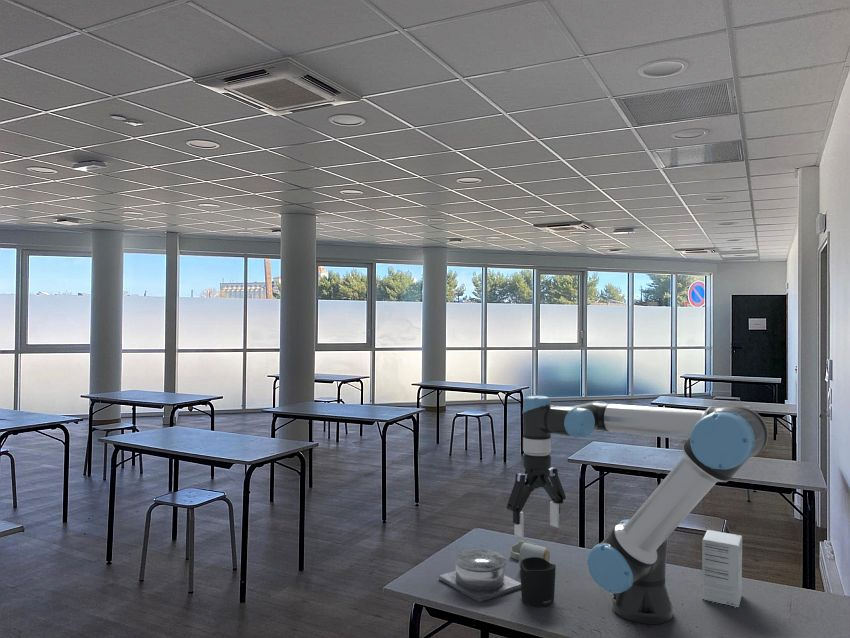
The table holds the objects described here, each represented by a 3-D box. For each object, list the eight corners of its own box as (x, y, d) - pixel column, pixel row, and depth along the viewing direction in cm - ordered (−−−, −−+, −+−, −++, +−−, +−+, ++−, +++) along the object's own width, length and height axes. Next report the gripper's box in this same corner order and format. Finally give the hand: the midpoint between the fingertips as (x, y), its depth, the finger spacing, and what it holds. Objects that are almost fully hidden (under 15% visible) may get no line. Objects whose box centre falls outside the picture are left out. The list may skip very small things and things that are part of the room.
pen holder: (519, 606, 166) (520, 569, 166) (520, 591, 175) (520, 555, 175) (555, 609, 164) (556, 571, 164) (554, 594, 173) (555, 558, 173)
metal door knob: (522, 588, 177) (522, 562, 177) (479, 602, 168) (479, 575, 168) (480, 567, 192) (480, 543, 192) (439, 579, 182) (439, 555, 182)
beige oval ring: (535, 553, 204) (536, 538, 204) (541, 561, 197) (541, 545, 197) (508, 554, 203) (508, 538, 203) (512, 561, 197) (512, 546, 197)
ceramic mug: (545, 576, 185) (545, 550, 185) (518, 572, 188) (518, 546, 188) (552, 564, 195) (552, 539, 195) (526, 560, 198) (527, 536, 198)
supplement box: (706, 587, 178) (706, 528, 178) (742, 595, 173) (742, 534, 173) (701, 600, 170) (701, 538, 170) (738, 608, 165) (739, 545, 165)
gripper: (558, 445, 180) (558, 519, 180) (493, 456, 166) (493, 536, 166) (578, 449, 174) (578, 525, 174) (512, 461, 160) (513, 544, 160)
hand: (537, 531), depth 170 cm, fingers open, 13 cm apart
